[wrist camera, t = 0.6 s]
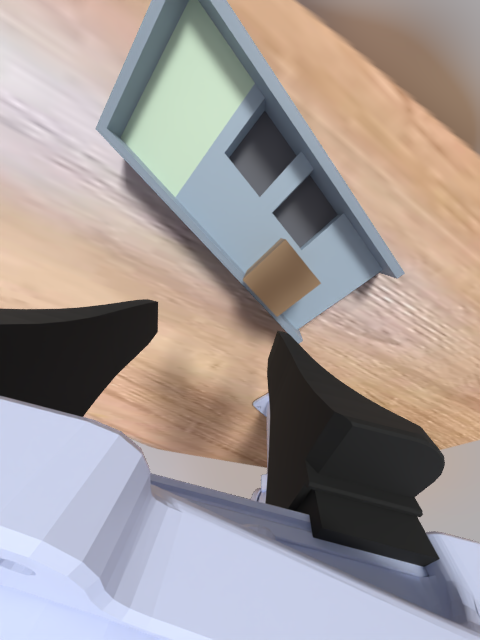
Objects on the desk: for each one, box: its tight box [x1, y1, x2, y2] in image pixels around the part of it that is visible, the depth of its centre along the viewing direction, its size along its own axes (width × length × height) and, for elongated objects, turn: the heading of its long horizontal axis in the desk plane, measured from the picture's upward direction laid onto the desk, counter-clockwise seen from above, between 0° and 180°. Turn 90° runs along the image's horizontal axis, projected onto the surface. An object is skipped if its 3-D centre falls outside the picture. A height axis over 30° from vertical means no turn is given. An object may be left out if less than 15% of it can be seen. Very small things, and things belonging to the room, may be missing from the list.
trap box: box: [96, 0, 405, 344], centre depth 15 cm, size 23×10×3 cm, turn 44°
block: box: [243, 238, 321, 317], centre depth 15 cm, size 4×4×4 cm
